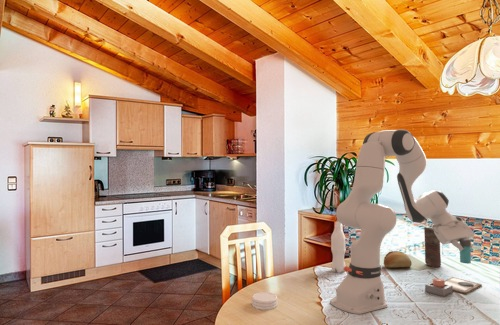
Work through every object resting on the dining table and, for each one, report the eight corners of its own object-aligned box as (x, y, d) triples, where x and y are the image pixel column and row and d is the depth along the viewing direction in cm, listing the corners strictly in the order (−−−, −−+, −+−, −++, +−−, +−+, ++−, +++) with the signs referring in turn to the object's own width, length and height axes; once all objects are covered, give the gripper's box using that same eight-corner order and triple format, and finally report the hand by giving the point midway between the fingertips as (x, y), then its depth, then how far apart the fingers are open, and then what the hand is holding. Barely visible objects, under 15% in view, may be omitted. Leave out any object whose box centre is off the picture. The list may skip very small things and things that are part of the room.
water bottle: (344, 269, 178) (344, 220, 178) (347, 273, 171) (346, 223, 171) (330, 269, 179) (329, 220, 179) (332, 273, 172) (331, 223, 172)
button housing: (443, 297, 141) (443, 289, 141) (425, 291, 147) (425, 284, 147) (452, 292, 145) (452, 285, 145) (434, 287, 151) (433, 280, 151)
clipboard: (465, 294, 143) (465, 292, 143) (436, 286, 153) (436, 284, 153) (481, 285, 153) (481, 283, 153) (452, 278, 162) (452, 276, 162)
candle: (421, 263, 186) (421, 226, 186) (432, 262, 188) (432, 225, 188) (433, 268, 179) (432, 229, 179) (444, 266, 181) (443, 228, 181)
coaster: (262, 298, 142) (262, 289, 142) (282, 304, 136) (282, 295, 136) (246, 306, 135) (246, 297, 135) (267, 313, 128) (266, 303, 128)
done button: (441, 290, 143) (441, 282, 143) (430, 287, 146) (430, 280, 146) (446, 287, 146) (446, 280, 146) (435, 284, 149) (435, 277, 149)
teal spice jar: (468, 264, 149) (468, 241, 149) (458, 262, 153) (457, 239, 153) (472, 262, 152) (472, 239, 152) (462, 260, 155) (462, 238, 155)
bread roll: (378, 265, 184) (378, 250, 184) (404, 263, 187) (404, 248, 187) (389, 271, 175) (389, 255, 175) (415, 268, 178) (415, 253, 178)
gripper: (434, 221, 154) (456, 248, 145) (463, 217, 163) (485, 242, 154) (426, 229, 158) (446, 256, 149) (454, 225, 167) (475, 250, 158)
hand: (466, 249), depth 152 cm, fingers closed on teal spice jar, 4 cm apart
